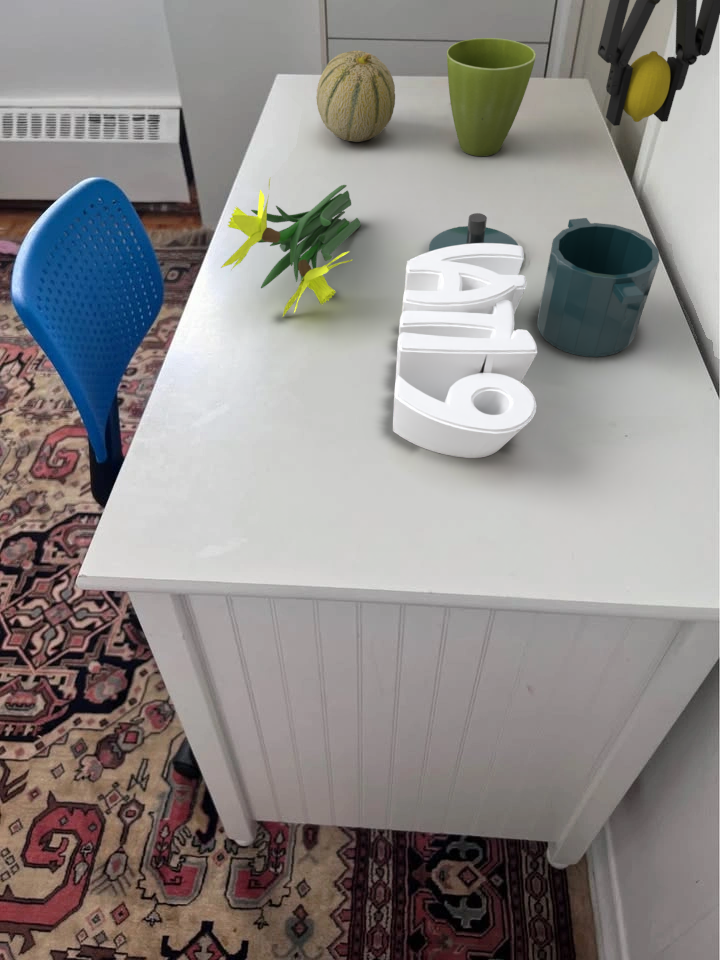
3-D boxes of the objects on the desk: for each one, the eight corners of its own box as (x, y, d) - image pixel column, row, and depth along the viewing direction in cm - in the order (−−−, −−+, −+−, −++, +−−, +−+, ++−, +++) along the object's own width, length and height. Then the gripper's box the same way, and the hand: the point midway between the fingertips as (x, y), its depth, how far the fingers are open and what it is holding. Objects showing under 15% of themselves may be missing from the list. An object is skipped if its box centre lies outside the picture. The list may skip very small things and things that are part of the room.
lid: (504, 229, 113) (509, 191, 109) (531, 276, 104) (538, 236, 100) (419, 237, 112) (421, 199, 108) (439, 285, 103) (442, 246, 99)
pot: (604, 285, 102) (625, 208, 94) (658, 364, 90) (688, 284, 82) (519, 294, 101) (532, 218, 93) (562, 375, 89) (582, 296, 81)
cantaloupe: (334, 118, 143) (330, 33, 132) (404, 127, 140) (407, 40, 129) (306, 149, 134) (299, 60, 123) (380, 159, 131) (380, 69, 120)
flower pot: (534, 141, 135) (549, 46, 123) (502, 173, 126) (515, 74, 114) (461, 125, 140) (469, 32, 128) (426, 155, 132) (431, 58, 120)
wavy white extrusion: (408, 292, 102) (410, 223, 94) (525, 301, 100) (538, 231, 92) (373, 472, 79) (372, 400, 71) (525, 487, 77) (541, 415, 69)
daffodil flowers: (407, 238, 114) (345, 308, 85) (331, 276, 120) (250, 354, 92) (357, 133, 108) (273, 172, 79) (279, 180, 114) (176, 231, 86)
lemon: (664, 130, 89) (684, 59, 83) (618, 130, 89) (636, 59, 83) (653, 112, 93) (671, 43, 87) (609, 113, 93) (625, 43, 87)
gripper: (763, -128, 77) (693, 102, 94) (595, -119, 75) (555, 113, 92) (801, -116, 72) (720, 125, 89) (623, -105, 70) (575, 137, 87)
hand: (636, 118), depth 91 cm, fingers closed on lemon, 5 cm apart
